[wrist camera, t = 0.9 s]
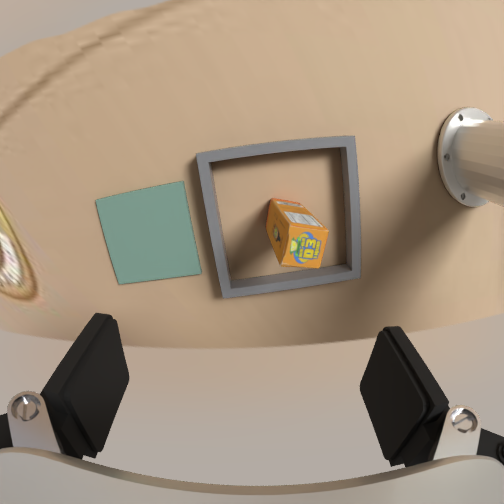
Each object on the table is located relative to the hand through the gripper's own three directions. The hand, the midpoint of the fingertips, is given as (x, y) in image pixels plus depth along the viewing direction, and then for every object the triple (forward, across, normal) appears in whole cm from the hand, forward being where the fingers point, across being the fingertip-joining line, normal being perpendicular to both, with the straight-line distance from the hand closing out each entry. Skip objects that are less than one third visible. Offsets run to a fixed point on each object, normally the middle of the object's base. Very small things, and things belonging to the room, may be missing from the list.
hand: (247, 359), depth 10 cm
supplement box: (+22, -4, 0) cm, 23 cm away
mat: (+22, +10, +3) cm, 24 cm away
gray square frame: (+22, -4, 0) cm, 22 cm away
